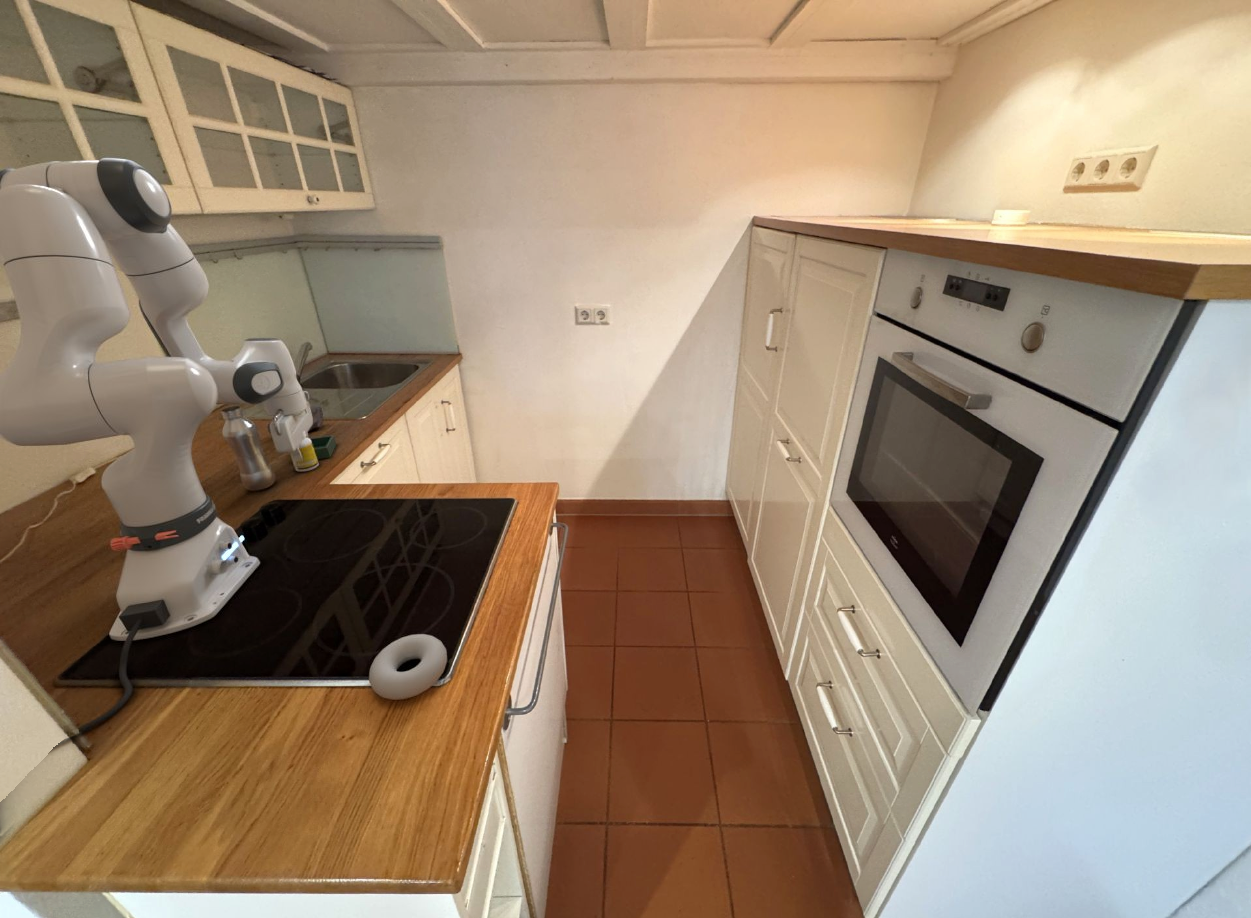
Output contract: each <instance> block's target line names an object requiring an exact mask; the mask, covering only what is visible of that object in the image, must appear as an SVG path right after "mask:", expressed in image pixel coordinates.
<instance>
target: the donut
mask: <svg viewBox="0 0 1251 918" xmlns="http://www.w3.org/2000/svg"><path fill="white" fill-rule="evenodd" d="M447 654H448V652H447V648H446V647H445V645H444V644H443V642H442V641H441V640H440V639H438V638H437V637H435V636H433V635H430V634H425V633H421V634H420V633H417V634H410V635H407V636H403V637H400V638H398V639H396V640H394V641H392V642H391V643H390V644H388V645H387V646H385V647H384V648H382V650H381V651H380V652H379V653H378V654H377V655H376V656H375V658H374V659H373V661H372V663H371V665H370V668H369V674H368V682H369V684H370V686H371V689H372V690H373V692H374V693H375V694H377V695H378V696H380V697H381V698H383V699H387V700H391V701H398V700H407V699H409V698H412V697H416V696H418V695H420V694H422V693H424V692H426V691H427V690H428V689H430V688H432V686H433V685H434V684H435V683H436V682H438V681H439V679H440V677H442V675H443V673H444V671H445V669H446V666H447V663H448V655H447ZM412 660H420V662H419V663H418V664H417V665H416V666H415V667H413V668H411V669H409V670H406V671H397V670H398V669H399V668H400V667H401V666H402V665H403V664H405V663H407V662H409V661H412Z"/></svg>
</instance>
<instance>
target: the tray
mask: <svg viewBox="0 0 1251 918" xmlns="http://www.w3.org/2000/svg"><path fill="white" fill-rule="evenodd" d="M308 438H309V437H308ZM309 439H310V440H311V442H312V444H313V448H314V451H315V454H316V456H317V459H318V460H324V459H330V458H331V457H332V455H333V453H334V451H335V449H336V447H337V442H336V438H335V436H334V434H333V435H332V434H331V435H324V436H318V437H311V438H309ZM289 457H290V460H291V462H292V459H291V456H290V455H289ZM292 464H293V462H292Z"/></svg>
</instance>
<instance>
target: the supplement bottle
mask: <svg viewBox="0 0 1251 918" xmlns="http://www.w3.org/2000/svg"><path fill="white" fill-rule="evenodd" d="M303 437H304V438H303V440H302V441H301V443H300V444H299V450H300V452H302V454H303V457H304V458H303V460H302V461H299V462H295V461H294V459H293V456H292V455H291V454H290V453H288V455H289V457H290V456H291V457H290V460H291V459H292V460H291V462H293V463H292V464H293V468H294V470H295V471H296V472H300V473H303V472H309V471H313V470H314V469H316V468H318V467H319V465H320V463H319V459H317V456H316V454H315V451H314V448H313V444H312V442H311V440H310V439H309V437H308V438H306V433H305V431H304V432H303Z"/></svg>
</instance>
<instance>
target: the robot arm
mask: <svg viewBox="0 0 1251 918" xmlns="http://www.w3.org/2000/svg"><path fill="white" fill-rule="evenodd" d="M172 209H173V208H172V205H171V201H170V198H169V196H168V194H167V192H166V190H165V189H164V186H163V185H162V184H161V182H160V181H159V180H158V179H157V178H156V177H155V176H154V174H152V172H150V171H149V170H148V169H146V168H145V167H143V166H142V165H141V164H138V163H137V162H135V161H134V160H130V159H125V158H117V157H116V158H115V157H103V158H101V159H99V160H98V159H97V160H96V159H93V160H92V159H91V160H90V159H88V160H86V159H83V160H68V161H66V160H65V161H60V160H53V161H47V162H41V163H36V164H31V165H30V164H29V165H26V166H23V167H19V168H5V169H1V170H0V260H1V263H2V266H3V269H4V271H5V273H6V276H7V279H8V282H9V285H10V288H11V291H12V294H13V297H14V300H15V304H16V308H17V312H18V315H19V321H20V336H19V342H18V345H17V349H16V350H15V352H14V355H13V357H12V359H10V362H9V364H7V366H6V368H5V369H4V370H3V371H2V372H0V439H2V440H3V441H6V442H8V443H10V444H13V445H15V446H19V447H46V446H65V445H66V446H67V445H71V444H78V443H84V442H89V441H96V440H101V439H107V438H108V439H109V438H113V437H118V436H129V437H130V439H131V440H132V442H133V446H134V448H132V449H131V450H129V451H128V452H126V453H124V454H123V455H122V456H119V457H118V458H117V459H115V460H114V461H113V462H112V463H110V464H109V465H108V466H107V467H106V468H105V469H104V471H103V472H102V475H101V479H100V480H101V481H100V482H101V488H102V490H103V491H104V494H105V495H106V498H108V501H109V502H110V504H111V506H112V508H113V509H114V511H115V513H116V515H117V516H118V518H119V520H120V521H119V528H120V532H119V533H120V537H114V538H113V537H112V538H111V539H110V541H109V546H110V549H111V550H112V551H114V552H118V551H122V550H126V552H125V556H124V557H125V558H124V561H123V564H122V568H121V572H120V576H119V581H118V584H117V589H116V592H115V599H116V602H117V605H118V607H119V613H118V614H117V616H116V618H115V621H114V623H113V624H112V626H111V628H110V630H109V632H108V635H109V637H110V639H111V640H112V641H117V642H119V641H120V642H124V644H123V645H122V649H121V653H120V656H119V668H118V677H119V681H120V684H121V685H122V687H123V689H124V693H123V695H122V697H121V698H120V699H119V701H118V702H117V703H116V704H114V705H113V706H112V707H111V708H110V709H108V710H107V711H106V712H104V713H103V714H102V715H101V714H100V715H99V716H98V717H96V718H94V719H92V720H90V721H89V722H87V723H84V724H83V725H80V726H79V727H77V728H78V729H79V732H81V733H84V732H85V731H87V730H90V729H91V728H94V727H95V726H97V725H99V724H101V723H102V722H104V721H106V720H108V719H109V718H111V716H113V715H114V714H116V713H117V712H118V711H119V710H120V709H121V708H122V707H123V706H124V705H125V704H126V703H127V702H128V701H129V699H130V698H131V696H132V694H133V689H134V688H133V685H132V683H131V681H130V679H129V677H128V673H127V667H128V657H129V651H130V648H131V646H132V643H133V641H139V640H146V639H150V638H155V637H160V636H164V635H168V634H172V633H177V632H180V631H184V630H186V629H190V628H193V627H195V626H197V625H200V624H202V623H204V622H207V621H209V620H211V619H213V618H214V617H215V616H216V615H217V614H218V613H219V612H220V611H221V610H222V609H223V608H224V606H225V605H226V604H227V603H228V601H229V600H230V599H232V597H233V596H234V595H235V593H237V591H238V590H239V589H240V588H241V587H242V586H243V584H245V582H246V581H247V579H248V578H249V577H250V576H251V575H252V574H253V573H254V571H255V570H256V569H257V568H259V566H260V565H261V561H260V559H259V558H258V557H257V556H254V555H250V554H249V553H248V552H247V550H246V548H245V546H244V545H243V541H245V537H244V535H240V537H239V536H238V534H237V533H236V531H235V529H234V528H233V527H232V526H231V525H229V524H227V523H226V522H225V521H223V520H221V519H220V517H218V510H217V509H216V505H215V502H214V501H213V499H211V497H210V495H208V494H207V493H205V491H204V488H203V487H202V484H201V481H200V478H199V476H198V473H197V471H196V467H195V465H194V461H193V457H192V446H193V440H194V437H195V435H196V432H197V431H198V429H199V427H200V426H201V425H202V423H203V422H204V421H205V420H206V419H207V418H208V417H209V416H210V415H211V414H212V413H213V411H214V409H215V408H216V406H217V405H235V406H238V405H258V404H262V407H263V411H264V413H265V415H266V416H268V417H272V420H273V421H272V420H271V421H272V422H271V421H270V422H271V423H270V422H269V423H270V432H271V434H270V435H271V439H272V442H273V445H274V447H275V451H276V452H277V453H278V454H280V455H281V454H289V453H290V454H291V455H292V456H293V459H294V461H295V462H299V461H302V460H303V458H304V457H303V454H302V452H300V450H299V444H300V443H301V441H302V440H303V438H304V437H303V432H304V431H305V433H306V438H309V431H308V430H309V429H310V427H311V426H312V425H313V417H312V413H311V409H310V407H311V405H310V402H309V400H310V395H309V392H308V391H306V390H303V387H302V386H301V384H300V383H299V381H298V379H297V369H296V365H295V364H294V361H293V358H292V356H291V355H292V354H291V353H290V351H289V348H288V347H287V346H286V344H285V343H284V341H282V340H281V339H280V338H277V337H252V338H246V339H244V340H243V342H242V345H243V346H242V347H241V349H240V351H239V352H238V353H237V354H236V355H235V356H234V357H233V358H231V359H230V360H220V359H219V360H217V359H215V358H213V357H210V356H209V355H208V354H206V353H205V351H204V350H203V349H202V347H201V344H200V343H199V342H198V340H197V338H196V336H195V334H194V332H193V331H192V329H191V327H190V324H189V321H188V315H189V313H191V312H192V311H194V310H195V309H197V308H198V307H200V306H201V305H203V304H204V302H205V301H206V299H207V298H208V295H209V291H210V283H209V280H208V277H207V275H206V273H205V271H204V269H203V267H202V265H201V264H200V262H199V261H198V260H197V258H196V256H195V255H194V254H193V252H192V251H191V249H190V248H189V246H188V244H187V243H186V242H185V240H184V239H183V238H182V236H181V235H180V234H179V233H178V231H177V230H176V229H175V227H174V226H173V225H172V224H171V219H172ZM111 256H112V257H111ZM112 258H113V259H114V261H115V262H116V264H117V265H118V267H119V268H120V269H121V271H122V272H123V274H124V275H125V276H126V278H127V279H128V280H129V282H130V284H131V285H132V287H133V288H134V290H135V292H136V294H137V296H138V307H139V310H140V312H141V315H142V317H143V318H144V321H145V322H146V324H147V326H148V328H149V329H150V331H151V333H152V334H153V336H154V337H155V339H156V341H157V342H158V344H159V346H160V348H161V349H162V351H163V352H164V354H165V356H144V357H143V356H142V357H135V358H134V357H133V358H128V359H126V358H125V359H119V360H110V361H103V362H96V354H97V352H98V350H99V349H100V347H101V346H102V344H104V343H105V342H106V341H109V340H110V339H112V338H114V337H116V336H117V335H119V334H120V333H122V332H123V331H124V330H125V329H126V328H127V326H128V324H129V322H130V319H131V311H130V310H131V309H130V307H129V305H128V302H127V298H126V296H125V294H124V290H123V287H122V285H121V282H120V279H119V276H118V272H117V270H116V268H115V264H114V262H113V259H112ZM290 454H289V455H290Z"/></svg>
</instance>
